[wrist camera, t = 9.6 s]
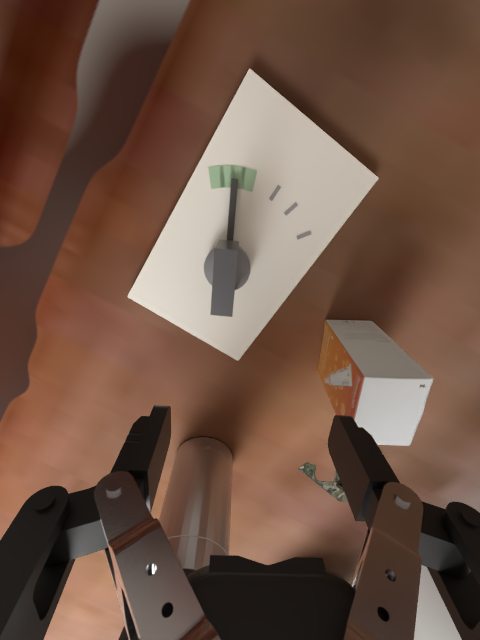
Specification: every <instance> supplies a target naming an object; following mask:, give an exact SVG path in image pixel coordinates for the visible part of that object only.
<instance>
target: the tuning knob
mask: <svg viewBox="0 0 480 640" xmlns="http://www.w3.org/2000/svg"><path fill="white" fill-rule="evenodd" d="M237 190H238V179H232V178H231V189H230V202H229V215H228V228H227V240H221V239H220V240H219V241H218V243H217V245H216V246H215V247H214V248H213V249H212V250H211V251H210V252H209V254H208V255H207V257H206V259H205V262H204V273H205V277H206V279H207V280H208V282H209V283H210V284H211V285H212V297H211V314H210V315H217V316H228V317H232V314H233V303H234V293H235V290H237V289H239V288H241V287H242V286H243V285H244V284H245V283H246V282H247V280H248V278H249V275H250V269H251V268H250V260H249V257H248V255H247V253H246V252H245V250H244V249H243V248H241V247H240V246H239V241H233V237H234V225H235V213H236V201H237Z"/></svg>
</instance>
